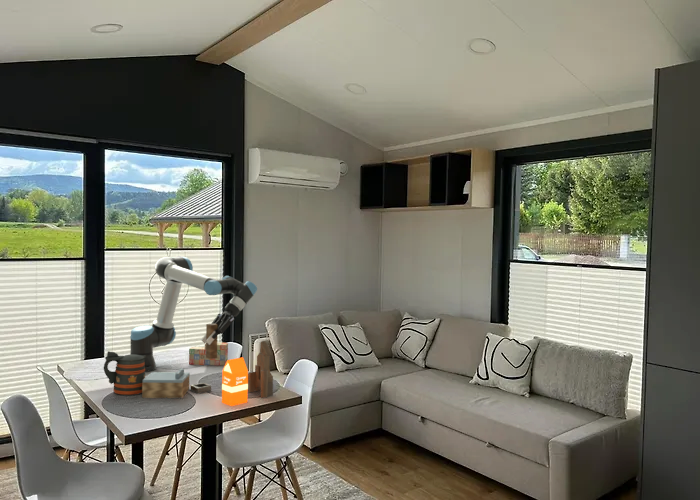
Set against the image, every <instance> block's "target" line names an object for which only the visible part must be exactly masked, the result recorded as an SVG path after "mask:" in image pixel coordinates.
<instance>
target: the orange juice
mask: <svg viewBox="0 0 700 500" xmlns="http://www.w3.org/2000/svg"><path fill="white" fill-rule="evenodd" d="M248 374H249V370H248V368H247V364H246V361H245V359H244V357H237V358H232V359H228V360H227V362H226V364H225V365H223V368H222V375H221V376H222V377H221V378H222V379H221V403H222V404H224V405H227V406H230V407H234V406H238V405H243V404H246V403H248V398H249V397H248V395H249V394H248V393H249V392H248Z"/></svg>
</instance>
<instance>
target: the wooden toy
mask: <svg viewBox="0 0 700 500" xmlns="http://www.w3.org/2000/svg"><path fill="white" fill-rule="evenodd" d="M271 356H273V353H272V352H271V350H270V347H269V345H268V343H267V341H266V340H262V341H260V352H259V353H258V354H257V356H256V364H255V365H254V371H252V372H248V393H253V392H254V393H255V392H258V391H260V398H261V399H266V398H268V397H270V396H273V394H274V391H273V390H274V375H272V373H271V370H270V357H271Z"/></svg>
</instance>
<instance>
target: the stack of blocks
mask: <svg viewBox="0 0 700 500" xmlns="http://www.w3.org/2000/svg"><path fill="white" fill-rule="evenodd" d="M228 356H229V343H228V342H220V341H217V358H215V359H208V358H206V343H204V346H191V347H190V348H189V349H188V365H195V366H196V365H199V366H225V364H226V362H227V360H229V359H228V358H229V357H228Z"/></svg>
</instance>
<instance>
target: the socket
mask: <svg viewBox="0 0 700 500" xmlns="http://www.w3.org/2000/svg"><path fill="white" fill-rule="evenodd" d="M189 390H190V391H191V392H192V393H193V392H194V393H196V394H202V393H203V394H204V393H208V392H212V385H210V384H208V383H206V382H200V383H196V384H189Z"/></svg>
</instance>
